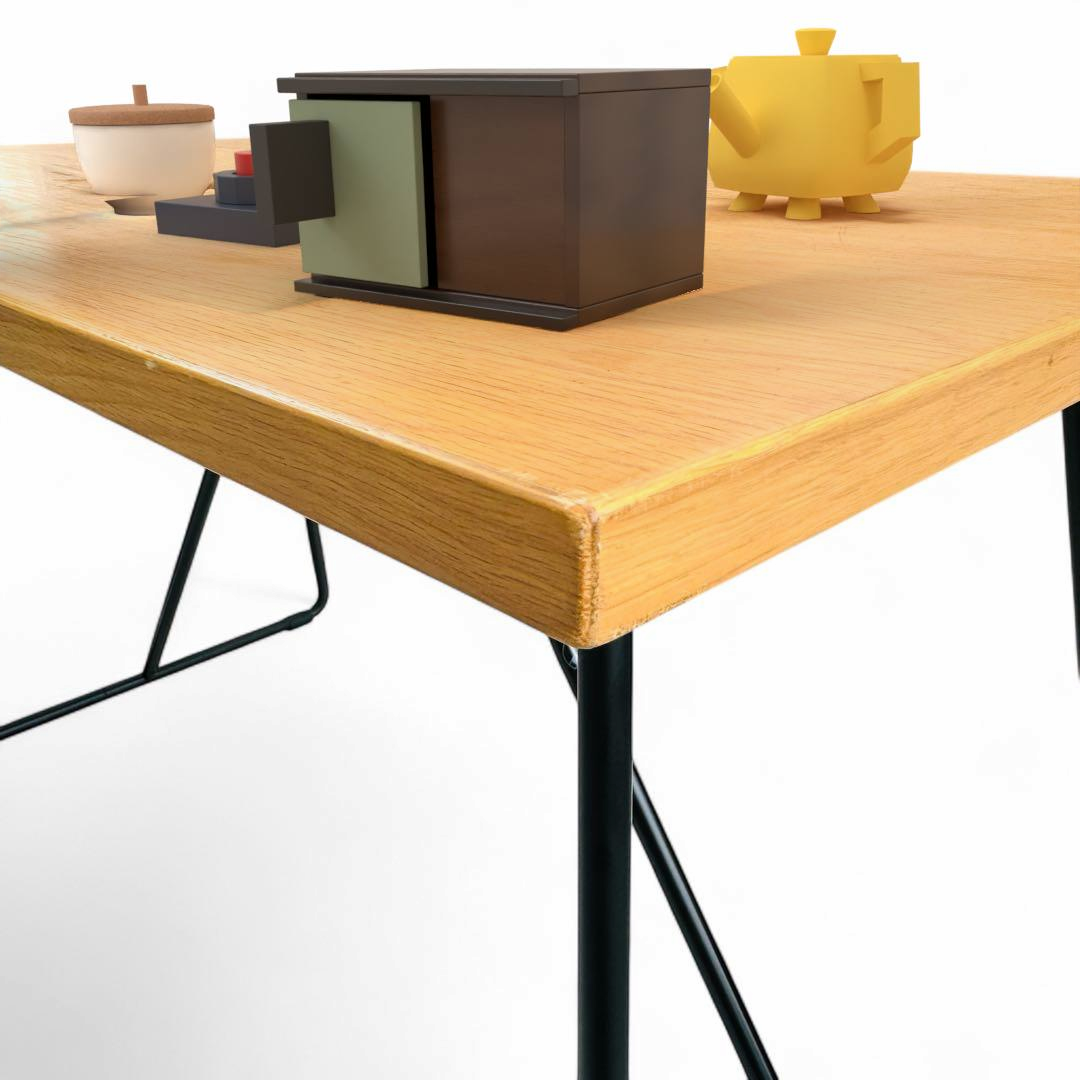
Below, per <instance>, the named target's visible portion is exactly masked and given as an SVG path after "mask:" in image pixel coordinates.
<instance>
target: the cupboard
mask: <svg viewBox="0 0 1080 1080" xmlns="http://www.w3.org/2000/svg"><path fill="white" fill-rule="evenodd" d="M711 69H712V68H710V67H686V68H685V67H679V68H677V67H671V68H670V67H669V68H668V67H667V68H666V67H665V68H663V67H662V68H661V67H659V68H658V67H654V68H653V67H652V68H651V67H648V68H647V67H646V68H644V67H643V68H640V67H639V68H638V67H635V68H631V67H630V68H629V67H624V68H623V67H622V68H619V67H618V68H617V67H616V68H615V67H614V68H613V67H611V68H610V67H608V68H602V67H599V68H597V67H595V68H594V67H593V68H589V67H587V68H585V67H583V68H580V67H579V68H573V67H572V68H570V67H569V68H567V67H563V68H558V67H556V68H553V67H551V68H550V67H549V68H544V67H543V68H538V67H537V68H530V67H529V68H416V69H415V68H414V69H413V68H411V69H382V70H379V69H377V70H352V71H351V70H348V71H347V70H345V71H311V72H310V71H307V72H295V73H294V76H290V77H289V76H287V77H277V78H276V91H277V93H278V94H295V96H296V98H295V99H320V100H372V101H419V102H420V113H421V135H422V157H423V179H424V201H425V223H426V245H427V267H428V286H427V287H423V288H417V287H409V286H402V285H394V284H387V283H379V282H372V281H364V280H357V279H350V278H342V277H335V276H327V275H320V274H312V273H310V276H309V277H303V278H300V279H295V280H294V281H293V285H294V286H293V288H294V292H296V293H302V294H309V295H315V296H319V297H320V296H321V297H328V298H333V297H334V299H340V298H342V299H341V300H347V299H348V301H355V300H356V301H355V302H360V301H362V303H367V302H369V303H368V304H374V303H377V304H376V305H381V304H383V305H382V306H387V305H388V307H394V306H395V308H401V309H407V308H408V309H409V310H414V311H415V310H416V311H421V312H429V313H434V314H435V313H436V314H442V315H448V316H454V317H455V316H456V317H462V318H468V319H476V320H483V321H489V322H495V323H496V322H497V323H502V324H508V325H509V324H510V325H516V326H523V327H530V328H536V329H543V330H549V331H557V332H566V331H569V330H573V329H575V328H577V327H582V326H585V325H589V324H591V323H595V322H597V321H601V320H605V319H607V318H610V317H615V316H617V315H620V314H624V313H627V312H630V311H635V310H637V309H640V308H643V307H647V306H650V305H653V304H656V303H660V302H663V301H667V300H669V299H673V298H676V297H679V295H680V296H682V294H683V295H686V294H688V293H687V292H689V293H692V292H691V291H693V290H696V291H698V290H697V289H699V290H701V289H700V288H702V287H704V270H705V269H704V268H705V247H706V246H705V245H706V244H705V242H706V215H707V194H708V192H707V191H708V171H709V170H708V144H709V131H710V120H711V119H710V93H711V87H710V85H711ZM702 289H703V288H702ZM693 292H694V291H693ZM685 293H686V294H685Z"/></svg>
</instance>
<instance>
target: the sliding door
mask: <svg viewBox="0 0 1080 1080" xmlns="http://www.w3.org/2000/svg"><path fill="white" fill-rule="evenodd" d="M288 113H289V120H286V121H285V120H284V121H272V122H271V121H270V122H259V123H258V122H257V123H249V124H248V133H249V134H248V135H249V143H250V144H249V145H250V150H251V155H252V165H253V175H254V186H255V196H256V207H257V217H258V223H259V224H266V225H281V224H288V223H294V222H299V233H300V244H299V245H300V257H301V267H302V273H305V274H311V273H312V274H320V275H327V276H335V277H342V278H350V279H357V280H364V281H372V282H379V283H387V284H394V285H402V286H409V287H417V288H423V287H427V286H428V267H427V245H426V223H425V201H424V179H423V157H422V135H421V113H420V102H419V101H372V100H320V99H297V98H292V99H288Z"/></svg>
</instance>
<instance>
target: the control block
mask: <svg viewBox="0 0 1080 1080" xmlns="http://www.w3.org/2000/svg"><path fill="white" fill-rule="evenodd" d="M212 180H213V189H214V193H211V194H203V196H194V197H186V198H178V199H169V200H161V201H155V202H154V205H155V213H156V215H155V220H156V227H157V234H160V235H167V236H173V237H174V236H176V237H182V238H183V237H184V238H192V239H200V240H208V241H215V242H216V241H217V242H224V243H234V244H242V245H250V246H251V245H252V246H257V247H258V246H259V247H266V248H267V247H268V248H275V249H276V248H281V247H288V246H294V245H300V233H299V222H294V223H288V224H281V225H266V224H259V223H258V217H257V207H256V196H255V186H254V175H236V168H235V169H226V170H221V171H217V172H214V173H213V176H212Z"/></svg>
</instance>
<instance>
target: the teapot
mask: <svg viewBox="0 0 1080 1080" xmlns="http://www.w3.org/2000/svg"><path fill="white" fill-rule="evenodd" d="M836 35H837V29H834V28H829V27H807V28H799V29H796V30H795V31H794V36H795V40H796V43H797V47H798V51H799V54H793V55H791V54H789V55H786V54H785V55H784V54H783V55H733V56H732V58H730V59H729V61H728V64H727V65H724V66H720V67H715V68H710V69H711V85H710V87H711V93H710V119H709V120H711V121H710V124H709V144H708V170H707V171H708V174H709V176H710V179H711V181H712V183H713V186H714V188H717V189H721V190H728V191H732V192H733V191H734V192H739V193H738V194H737V196H736V197H735V199H734V200H733V201H732V203H731V204H730V206H729V207H728V208H727V210H728V211H734V212H757V211H759V212H760V211H762V210H763V208H764V206H765V203H766V201H767V199H768V196H772V197H783V198H787V203H786V204H787V207H786V211H785V219H790V220H802V221H803V220H804V221H805V220H806V221H809V220H818V219H822V211H821V199H834V198H841V199H842V203H843V206H844V209H845V211H846V212H849V213H855V214H856V213H857V214H859V213H860V214H872V213H879V212H881V209H880V207H879V206H878V203H877V202H876V201H875V199H874V197H873V195H875V194H883V193H885V194H887V193H893V192H899V191H900V189H901V187H902V186H903V184H904V182H905V180H906V179H907V176H908V174H909V172H910V170H911V167H912V164H913V155H914V154H913V153H914V141H916V140H918V139H919V138H920V137H921V88H920V87H921V86H920V83H921V81H920V79H921V77H920V62H919V61H917V62H916V61H911V62H908V61H907V62H905V61H904V62H902V58H901V57H900V56H899V54H829V52H830V50H831V47H832V45H833V42H834V40H835V38H836Z"/></svg>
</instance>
